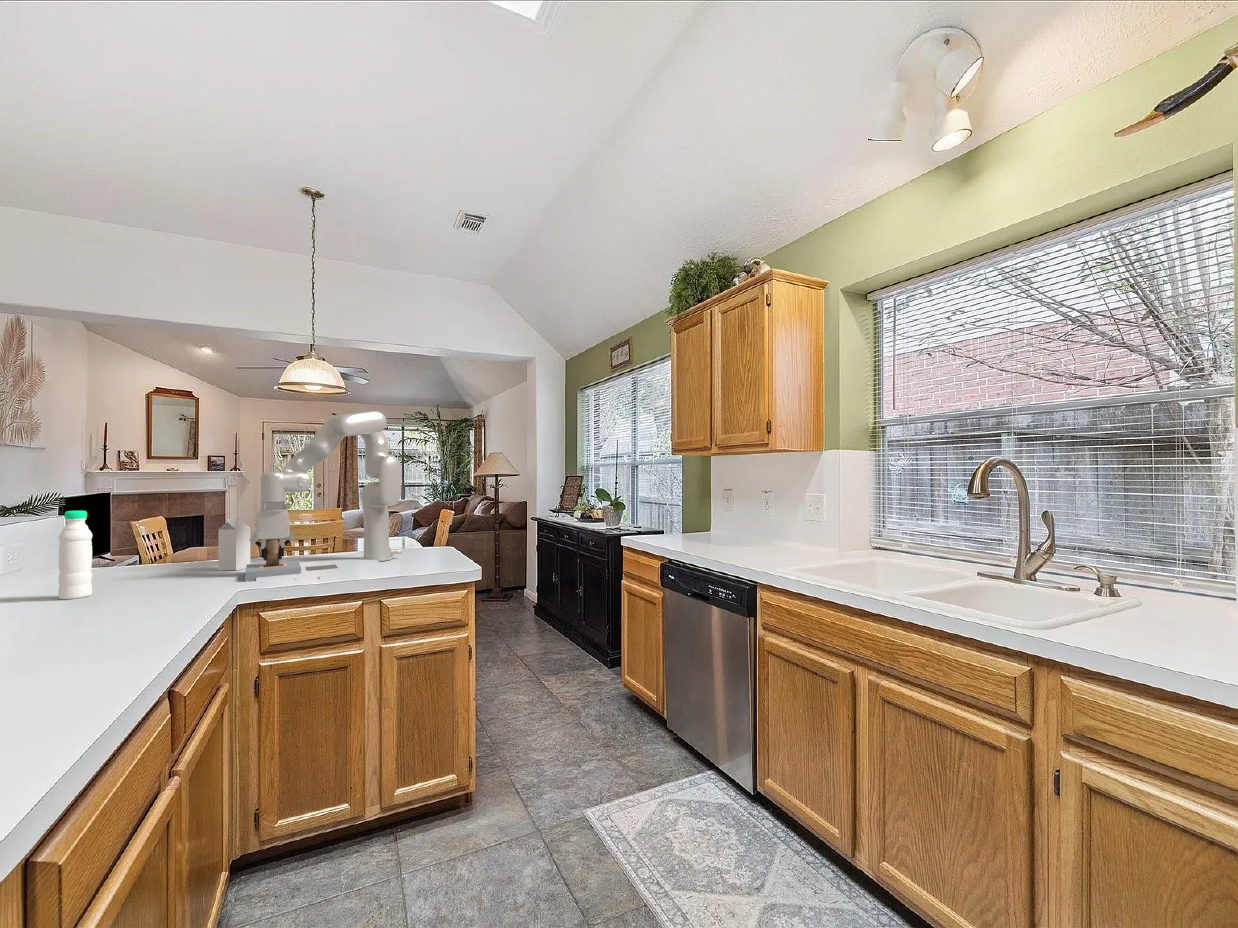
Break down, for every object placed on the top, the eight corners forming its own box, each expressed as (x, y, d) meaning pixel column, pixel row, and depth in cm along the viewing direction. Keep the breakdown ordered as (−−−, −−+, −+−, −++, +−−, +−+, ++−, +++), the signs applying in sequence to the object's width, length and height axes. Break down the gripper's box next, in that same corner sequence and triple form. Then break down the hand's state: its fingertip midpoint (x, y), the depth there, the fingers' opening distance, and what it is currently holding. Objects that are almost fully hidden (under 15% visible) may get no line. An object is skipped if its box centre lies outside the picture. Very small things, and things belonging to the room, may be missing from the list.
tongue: (335, 567, 214) (335, 564, 214) (338, 570, 205) (338, 567, 205) (305, 569, 208) (305, 567, 208) (306, 573, 200) (306, 570, 200)
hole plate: (298, 568, 212) (298, 559, 212) (301, 576, 195) (301, 566, 195) (246, 572, 203) (246, 563, 203) (245, 581, 186) (245, 571, 186)
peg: (279, 564, 201) (279, 538, 202) (279, 565, 198) (279, 539, 198) (265, 565, 199) (266, 539, 199) (265, 566, 196) (266, 540, 196)
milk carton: (250, 567, 215) (250, 517, 215) (236, 570, 208) (236, 518, 208) (233, 567, 216) (233, 517, 216) (218, 570, 209) (218, 518, 209)
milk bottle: (97, 595, 166) (98, 510, 167) (68, 600, 160) (68, 511, 160) (82, 594, 169) (82, 509, 169) (52, 599, 162) (52, 511, 162)
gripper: (299, 505, 207) (299, 556, 206) (244, 507, 198) (244, 560, 197) (301, 506, 200) (300, 558, 200) (244, 508, 192) (243, 562, 191)
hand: (272, 558), depth 199 cm, fingers closed on peg, 4 cm apart
